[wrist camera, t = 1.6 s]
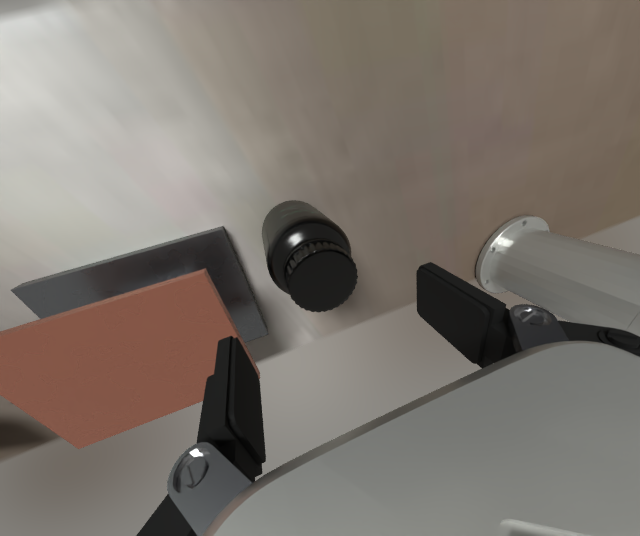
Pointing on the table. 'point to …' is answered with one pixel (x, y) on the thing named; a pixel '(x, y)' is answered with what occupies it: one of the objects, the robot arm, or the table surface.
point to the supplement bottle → (308, 256)
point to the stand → (127, 336)
